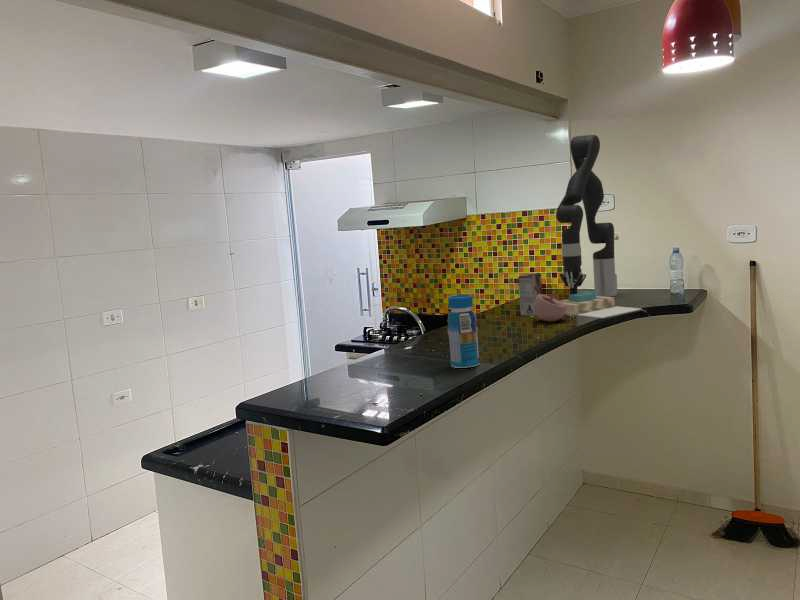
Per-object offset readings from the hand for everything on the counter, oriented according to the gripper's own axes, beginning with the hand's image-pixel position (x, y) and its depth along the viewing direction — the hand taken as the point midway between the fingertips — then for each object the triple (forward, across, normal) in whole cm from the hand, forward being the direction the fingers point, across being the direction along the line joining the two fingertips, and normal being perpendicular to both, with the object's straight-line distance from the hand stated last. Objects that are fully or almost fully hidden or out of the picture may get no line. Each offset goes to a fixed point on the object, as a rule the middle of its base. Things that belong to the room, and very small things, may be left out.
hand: (573, 296), depth 251 cm
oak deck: (+5, -4, 0) cm, 7 cm away
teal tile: (0, -5, 0) cm, 5 cm away
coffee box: (+5, +7, +17) cm, 19 cm away
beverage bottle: (+5, -43, +86) cm, 97 cm away
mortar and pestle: (+5, -12, +25) cm, 28 cm away
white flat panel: (+5, -18, 0) cm, 19 cm away
